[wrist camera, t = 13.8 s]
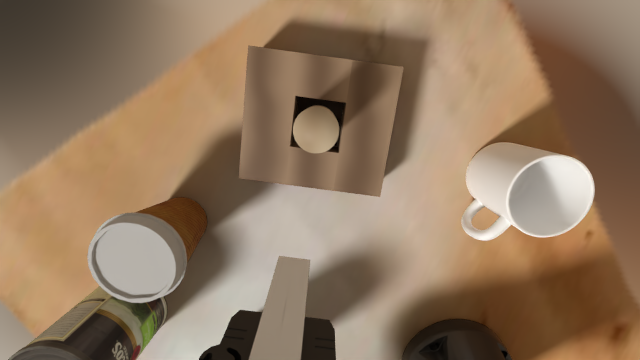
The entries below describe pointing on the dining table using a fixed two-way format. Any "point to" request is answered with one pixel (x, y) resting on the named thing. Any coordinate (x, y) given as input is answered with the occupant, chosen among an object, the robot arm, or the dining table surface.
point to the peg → (316, 129)
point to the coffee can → (99, 330)
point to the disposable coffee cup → (146, 249)
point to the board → (327, 84)
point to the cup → (527, 190)
